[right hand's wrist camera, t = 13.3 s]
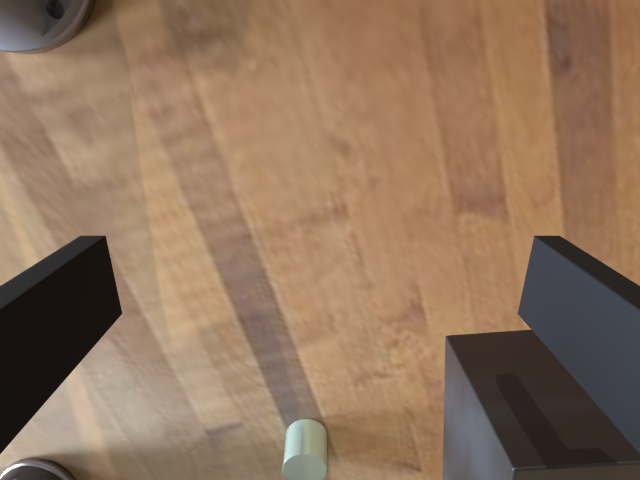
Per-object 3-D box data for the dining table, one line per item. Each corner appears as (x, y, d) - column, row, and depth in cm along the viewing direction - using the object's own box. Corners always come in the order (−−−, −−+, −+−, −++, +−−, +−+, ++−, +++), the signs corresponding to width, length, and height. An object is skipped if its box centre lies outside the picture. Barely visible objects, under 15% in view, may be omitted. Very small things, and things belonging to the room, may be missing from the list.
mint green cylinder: (286, 449, 49) (282, 486, 45) (286, 418, 48) (281, 453, 43) (326, 450, 49) (326, 487, 45) (327, 419, 47) (327, 454, 43)
